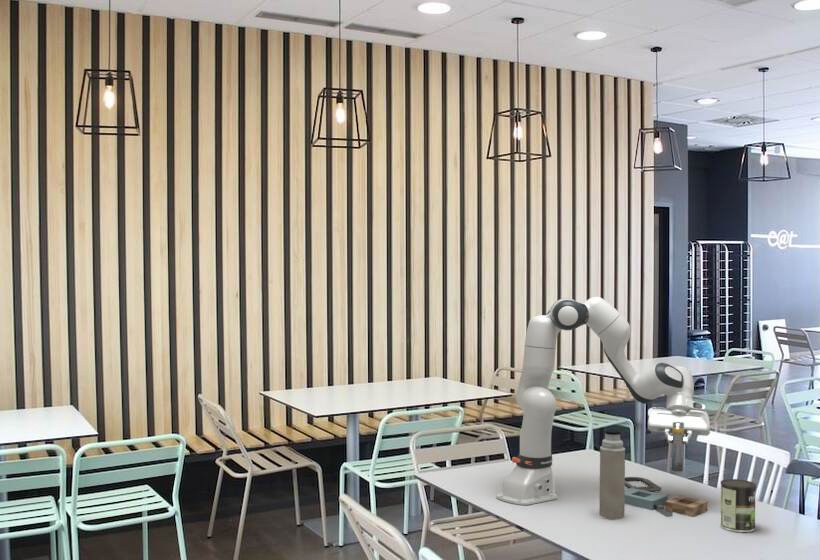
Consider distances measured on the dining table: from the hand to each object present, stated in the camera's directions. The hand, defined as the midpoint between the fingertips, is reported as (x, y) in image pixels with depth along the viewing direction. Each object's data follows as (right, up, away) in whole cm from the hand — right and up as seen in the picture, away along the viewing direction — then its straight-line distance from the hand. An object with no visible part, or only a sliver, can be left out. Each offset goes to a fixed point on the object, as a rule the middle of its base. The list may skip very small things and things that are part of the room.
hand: (677, 442), depth 284 cm
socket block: (+3, -23, 0) cm, 23 cm away
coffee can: (+13, -23, -18) cm, 32 cm away
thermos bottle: (-23, -23, -6) cm, 33 cm away
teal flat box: (-10, -22, +9) cm, 26 cm away
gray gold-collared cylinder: (0, -9, +1) cm, 9 cm away
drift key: (-6, -23, -3) cm, 24 cm away
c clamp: (-7, -23, +30) cm, 38 cm away
